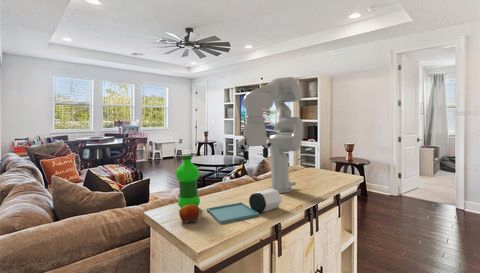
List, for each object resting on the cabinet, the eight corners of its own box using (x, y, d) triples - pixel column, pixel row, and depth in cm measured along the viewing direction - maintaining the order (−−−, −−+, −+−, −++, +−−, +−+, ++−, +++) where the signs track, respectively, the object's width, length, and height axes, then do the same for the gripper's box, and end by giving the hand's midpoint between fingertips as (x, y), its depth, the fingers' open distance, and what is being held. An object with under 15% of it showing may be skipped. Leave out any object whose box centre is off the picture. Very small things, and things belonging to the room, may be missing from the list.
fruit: (182, 224, 97) (179, 203, 100) (179, 228, 103) (177, 208, 107) (203, 220, 100) (200, 200, 104) (199, 224, 107) (196, 205, 110)
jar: (277, 211, 117) (257, 217, 110) (266, 199, 123) (246, 204, 115) (284, 196, 113) (264, 202, 106) (272, 184, 119) (252, 189, 111)
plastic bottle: (191, 214, 111) (188, 157, 110) (173, 211, 116) (170, 156, 115) (205, 207, 120) (202, 154, 119) (187, 205, 125) (184, 153, 124)
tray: (241, 204, 122) (241, 202, 122) (258, 216, 107) (258, 213, 107) (207, 211, 115) (206, 208, 115) (220, 224, 100) (219, 220, 100)
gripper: (267, 120, 122) (268, 156, 123) (233, 121, 115) (235, 159, 116) (275, 119, 115) (277, 157, 116) (240, 121, 108) (242, 161, 109)
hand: (256, 158), depth 116 cm, fingers open, 9 cm apart
